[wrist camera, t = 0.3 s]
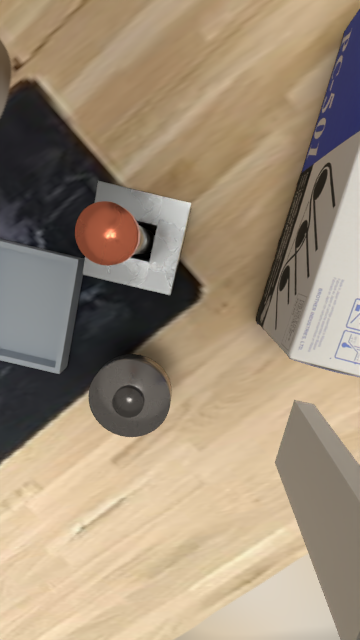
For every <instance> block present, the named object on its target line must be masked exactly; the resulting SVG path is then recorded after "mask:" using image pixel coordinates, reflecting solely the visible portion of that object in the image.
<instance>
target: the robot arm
mask: <svg viewBox="0 0 360 640" xmlns="http://www.w3.org/2000/svg"><path fill="white" fill-rule="evenodd" d="M275 464H276V466H277V469H278V472H279V474H280V477H281V480H282V483H283V485H284V488H285V491H286V493H287V496H288V499H289V501H290V504H291V507H292V509H293V512H294V515H295V518H296V520H297V523H298V526H299V528H300V531H301V534H302V536H303V539H304V542H305V545H306V547H307V550H308V553H309V555H310V558H311V561H312V563H313V566H314V569H315V571H316V574H317V577H318V580H319V582H320V585H321V588H322V590H323V593H324V596H325V599H326V601H327V604H328V607H329V609H330V612H331V615H332V617H333V620H334V623H335V625H336V628H337V631H338V634H339V636H340V639H341V640H360V465H359V464H358V463H357V461H356V460H355V459H354V457H353V456H352V455H351V453H350V452H349V451H348V449H347V448H346V447H345V445H344V444H343V443H342V441H341V440H340V439H339V437H338V436H337V435H336V433H335V432H334V431H333V429H332V428H331V427H330V425H329V424H328V423H327V421H326V420H325V419H324V417H323V416H322V414H321V413H320V412H319V410H318V409H317V408H316V406H315V405H314V404H310V403H306V402H301V401H296V400H294V403H293V406H292V409H291V412H290V416H289V419H288V422H287V425H286V428H285V432H284V435H283V438H282V441H281V445H280V448H279V451H278V454H277V457H276V461H275Z"/></svg>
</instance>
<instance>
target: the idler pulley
mask: <svg viewBox="0 0 360 640" xmlns="http://www.w3.org/2000/svg"><path fill="white" fill-rule="evenodd" d="M170 401H171V384H170V381H169V378H168V376H167V374H166V372H165V371H164V370H163V368H162V367H161V366H160V365H159V364H157V363H156V362H155V361H153V360H151V359H150V358H147V357H145V356H142V355H136V354H127V355H121V356H118V357H115V358H113V359H112V360H110V361H109V362H107V363H106V364H105V365H104V366H103V367H102V368H101V370H100V371H99V372H98V374H97V375H96V376H95V378H94V379H93V381H92V383H91V386H90V390H89V404H90V408H91V411H92V413H93V415H94V417H95V418H96V420H97V421H98V422H99V423H100V424H101V425H102V426H103V427H104V428H105V429H107V430H108V431H110V432H112V433H114V434H117V435H120V436H125V437H138V436H142V435H146V434H148V433H150V432H152V431H154V430H155V429H156V428H158V427H159V426H160V425H161V424H162V423H163V421H164V420H165V418H166V416H167V414H168V411H169V407H170Z"/></svg>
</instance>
